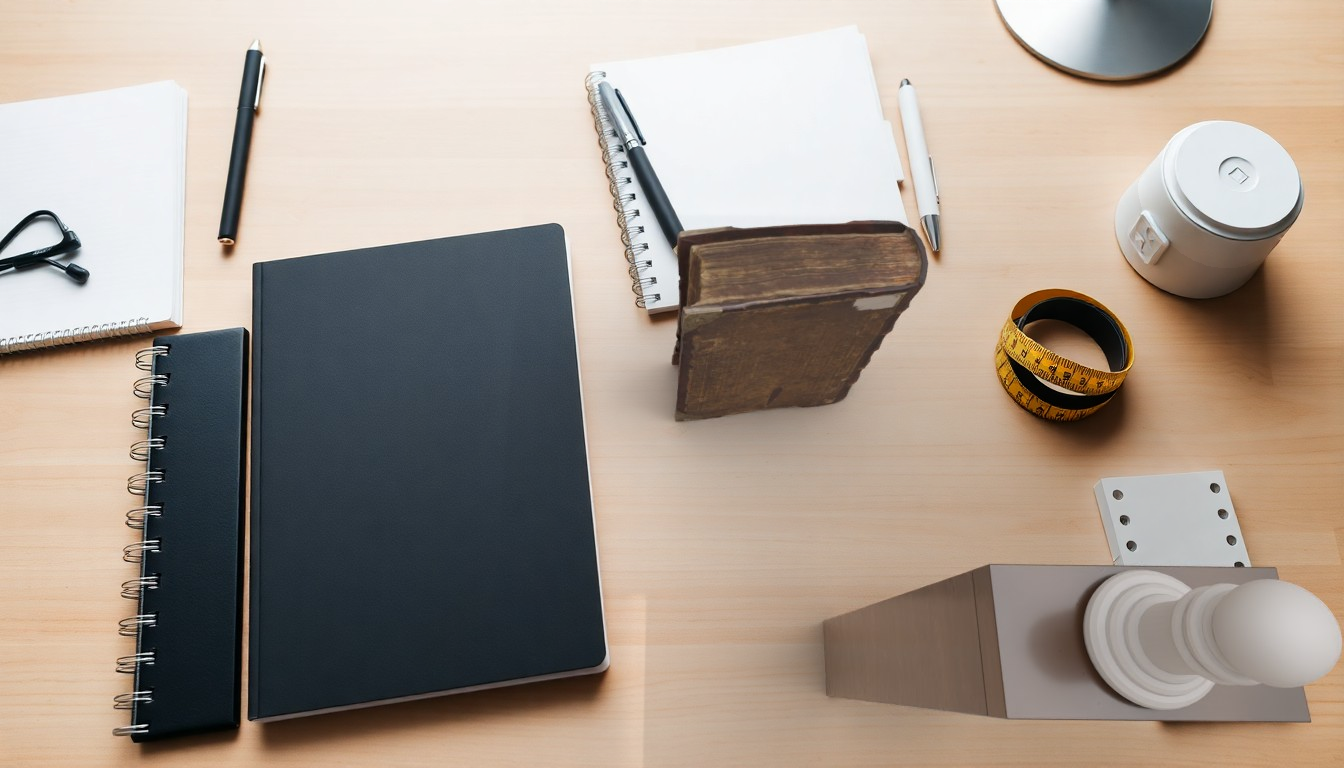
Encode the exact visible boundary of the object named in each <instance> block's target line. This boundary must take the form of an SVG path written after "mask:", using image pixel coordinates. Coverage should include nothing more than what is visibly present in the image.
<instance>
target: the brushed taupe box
mask: <svg viewBox="0 0 1344 768" xmlns="http://www.w3.org/2000/svg"><path fill="white" fill-rule="evenodd" d="M1130 570H1150V571H1155V572H1159V573H1163V574H1166V575H1168V576H1171V577H1173V578H1175V579H1177V580H1179V581H1181V582H1182V583H1184V584H1185V585H1187V586H1188V587H1190V588H1191V589H1192V590H1193V589H1195V588H1198V587H1203V586H1212V585H1215V584H1222V583H1229V584H1235V585H1239V586H1240V585H1242V584H1245V583H1247V582H1251V581H1255V580H1261V579H1275V580H1280V578H1279V574H1278V569H1277V567H1276V566H1271V567H1270V566H1207V565H1205V566H1203V565H1202V566H1200V565H1199V566H1197V565H1196V566H1194V565H1193V566H1192V565H1125V564H1124V565H1121V564H1120V565H1118V564H1117V565H1115V564H1113V565H1112V564H1111V565H1109V564H1039V563H1038V564H1033V563H1031V564H1028V563H1027V564H1026V563H988V564H986V565H985V564H984V565H983V566H979V567H977V568H974V569H971V570H968V571H966V572H962V573H959V574H956V575H954V576H951V577H948V578H945V579H941V580H939V581H937V582H934V583H931V584H927V585H925V586H922V587H919V588H916V589H913V590H910V591H908V592H904V593H901V594H898V595H895V596H893V597H890V598H887V599H884V600H881V601H878V602H876V603H873V604H869V605H866V606H864V607H861V608H858V609H855V610H852V611H848V612H846V613H843V614H840V615H837V616H835V617H832V618H829V619H825V620H823V622H822V625H823V644H824V645H823V646H824V647H823V648H824V664H825V665H824V669H825V684H826V685H825V687H826V697H827V698H834V699H844V700H849V701H850V700H851V701H859V702H866V703H874V704H875V703H876V704H883V705H891V706H892V705H893V706H899V707H905V708H906V707H907V708H912V709H913V708H915V709H923V710H931V711H938V712H946V713H954V714H961V715H970V716H977V717H985V718H992V719H1000V720H1015V721H1017V720H1018V721H1020V720H1021V721H1024V720H1025V721H1102V722H1103V721H1104V722H1105V721H1110V722H1112V721H1113V722H1119V721H1120V722H1197V723H1198V722H1199V723H1201V722H1203V723H1204V722H1205V723H1206V722H1207V723H1208V722H1209V723H1211V722H1213V723H1289V724H1290V723H1293V724H1295V723H1296V724H1297V723H1298V724H1299V723H1300V724H1301V723H1302V724H1304V723H1305V724H1306V723H1307V724H1308V723H1309V724H1310V723H1312V717H1311V714H1310V709H1309V705H1308V700H1307V696H1306V692H1305V688H1304V686H1299V687H1293V688H1280V687H1273V686H1269V685H1265V684H1262V683H1261V684H1257V685H1251V686H1243V685H1222V684H1218V683H1215V684H1214V686H1213V687H1212V688H1211V690H1210V691H1209V692H1208V693H1207V694H1206V695H1205V696H1204V697H1202V698H1201V699H1200V700H1198V701H1196V702H1195V703H1192V704H1190V705H1188V706H1186V707H1183V708H1180V709H1174V710H1157V709H1151V708H1147V707H1144V706H1141V705H1139V704H1136V703H1134V702H1132V701H1130V700H1128V699H1127V698H1125V697H1123V696H1122V695H1121V694H1119V693H1118V692H1116V691H1115V690H1114V689H1113V688H1112V687H1111V686H1109V685H1108V684H1107V683H1106V681H1105V680H1104V679H1103V678H1102V677H1101V676H1100V674H1099V673H1098V671H1097V670H1096V668H1095V667H1094V665H1093V663H1092V661H1091V659H1090V657H1089V654H1088V652H1087V648H1086V645H1085V640H1084V634H1083V622H1084V615H1085V610H1086V607H1087V605H1088V602H1089V600H1090V598H1091V597H1092V595H1093V594H1094V592H1095V591H1096V590H1097V589H1098V587H1099V586H1100V585H1102V584H1103V583H1104V582H1105V581H1106V580H1108V579H1109V578H1111V577H1112V576H1114V575H1117V574H1119V573H1122V572H1125V571H1130Z"/></svg>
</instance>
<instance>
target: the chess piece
mask: <svg viewBox="0 0 1344 768" xmlns="http://www.w3.org/2000/svg"><path fill="white" fill-rule="evenodd" d="M1083 634H1084V640H1085V645H1086V648H1087V652H1088V654H1089V657H1090V659H1091V661H1092V663H1093V665H1094V667H1095V668H1096V670H1097V671H1098V673H1099V674H1100V676H1101V677H1102V678H1103V679H1104V680H1105V681H1106V683H1107V684H1108V685H1109V686H1111V687H1112V688H1113V689H1114V690H1115V691H1116V692H1118V693H1119V694H1121V695H1122V696H1123V697H1125V698H1127V699H1128V700H1130V701H1132V702H1134V703H1136V704H1139V705H1141V706H1144V707H1147V708H1151V709H1157V710H1174V709H1180V708H1183V707H1186V706H1188V705H1190V704H1192V703H1195V702H1196V701H1198V700H1200V699H1201V698H1202V697H1204V696H1205V695H1206V694H1207V693H1208V692H1209V691H1210V690H1211V688H1212V687H1213V686H1214V684H1215V683H1218V684H1222V685H1243V686H1251V685H1257V684H1261V683H1262V684H1265V685H1269V686H1273V687H1280V688H1293V687H1299V686H1303V687H1304V686H1307V685H1310V684H1312V683H1315V682H1317V681H1319V680H1321V679H1322V678H1323V677H1325V676H1327V675H1328V674H1329V673H1330V672H1331V671H1332V669H1333V668H1334V667H1335V666H1336V664H1337V663H1338V661H1339V658H1340V657H1341V654H1342V649H1343V636H1342V631H1341V627H1340V624H1339V622H1338V620H1337V619H1336V617H1335V615H1334V614H1333V612H1332V611H1331V610H1330V608H1329V607H1328V606H1327V604H1325V603H1324V602H1323V601H1322V599H1320V598H1319V597H1318V596H1316V595H1315V594H1314V593H1312V592H1311V591H1309V590H1307V589H1306V588H1304V587H1302V586H1300V585H1297V584H1296V583H1293V582H1290V581H1287V580H1286V581H1285V580H1283V579H1282V580H1281V579H1279V580H1275V579H1261V580H1255V581H1251V582H1247V583H1245V584H1242V585H1240V586H1239V585H1235V584H1229V583H1222V584H1215V585H1212V586H1203V587H1198V588H1195V589H1193V590H1192V589H1191V588H1190V587H1188V586H1187V585H1185V584H1184V583H1182V582H1181V581H1179V580H1177V579H1175V578H1173V577H1171V576H1168V575H1166V574H1163V573H1159V572H1155V571H1150V570H1130V571H1125V572H1122V573H1119V574H1117V575H1114V576H1112V577H1111V578H1109V579H1108V580H1106V581H1105V582H1104V583H1103V584H1102V585H1100V586H1099V587H1098V589H1097V590H1096V591H1095V592H1094V594H1093V595H1092V597H1091V598H1090V600H1089V602H1088V605H1087V607H1086V610H1085V615H1084V622H1083Z"/></svg>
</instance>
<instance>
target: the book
mask: <svg viewBox="0 0 1344 768" xmlns="http://www.w3.org/2000/svg"><path fill="white" fill-rule="evenodd" d="M676 240H677V243H676V257H677V266H678V268H677V269H678V272H677V273H678V276H679V279H678V307H677V308H678V311H677V312H678V313H677V317H676V322H677V323H676V324H677V328H676V332H675V336H676V341H675V346H674V347H673V353H672V355H671V365H672V366H678V374H677V375H678V376H677V389H676V400H675V401H676V402H675V411H674V422H688V421H697V420H706V419H714V418H721V417H724V416H728V415H736V414H741V413H747V412H754V411H762V410H771V409H782V408H783V409H785V408H792V407H797V408H813V407H821V406H827V405H833V404H836V403H839V402H841V401H843V400H844V399H845V398H846V397H847V396H848V394H849V392H850V390H851V388H852V387H853V385H854V384H856V383H857V382H858V380H859V379H860V377H861V373H862V371H863V370H864V369H866V367H867V366H868V365H869V364H870V363H871V359H872V357H873V355H874V353H875V352H877V351H879V350H880V348H881V346H882V344H883V341H884V339H885V338H886V336H887V335H888V334H891V332H893V330H894V327H895V325H896V322H897V321H898V320H899V318H900V316H901V315H902V314H903V313H904V312H905V311H906V310H908V309H909V308H910V305H911V304H910V303H911V302H912V300H913V299H914V298H915V297H916V296H917V294H918V293H919V292H920V291H921V289H922V288H923V287H924V285H925V284H926V280H927V275H928V269H929V261H928V260H929V259H928V255H927V250H926V246H925V244H924V242H923V240H922V238H921V237H920V236H919V235H918V233H917V231H916V230H915V229H914V228H912V227H911V226H908V225H906V224H904V223H902V222H901V221H898V220H888V219H887V220H886V219H885V220H884V219H880V220H879V219H867V220H851V221H847V222H839V223H804V224H803V223H802V224H801V223H800V224H798V223H797V224H784V225H771V226H770V225H769V226H758V227H757V226H756V227H755V226H753V227H737V226H733V225H728V226H727V225H726V226H718V227H707V228H698V229H689V230H682V231H681V230H680V232H678V234H677V239H676Z"/></svg>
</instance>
